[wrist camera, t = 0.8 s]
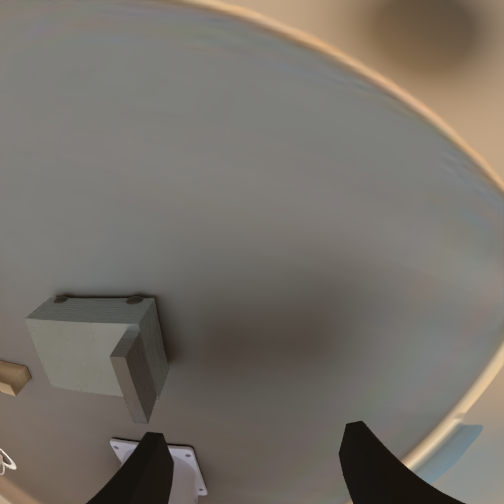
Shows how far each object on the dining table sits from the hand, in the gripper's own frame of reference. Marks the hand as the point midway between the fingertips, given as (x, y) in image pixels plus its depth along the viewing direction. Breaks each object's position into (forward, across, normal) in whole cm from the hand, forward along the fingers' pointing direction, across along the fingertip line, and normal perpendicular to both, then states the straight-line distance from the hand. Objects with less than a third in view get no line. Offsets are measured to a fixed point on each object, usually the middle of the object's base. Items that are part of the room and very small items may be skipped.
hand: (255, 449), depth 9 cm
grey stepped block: (+9, +10, 0) cm, 13 cm away
